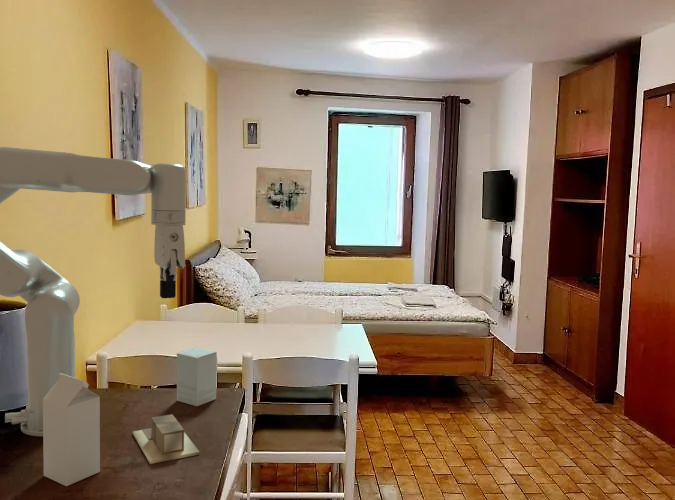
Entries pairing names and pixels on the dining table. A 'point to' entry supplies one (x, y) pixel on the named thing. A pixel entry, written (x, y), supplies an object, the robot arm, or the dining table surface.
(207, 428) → the dining table surface
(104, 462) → the dining table surface
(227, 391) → the dining table surface
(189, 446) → the board
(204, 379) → the supplement box
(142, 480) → the dining table surface
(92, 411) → the milk carton
